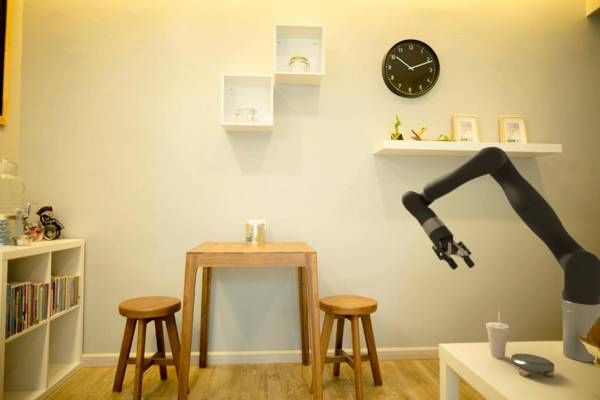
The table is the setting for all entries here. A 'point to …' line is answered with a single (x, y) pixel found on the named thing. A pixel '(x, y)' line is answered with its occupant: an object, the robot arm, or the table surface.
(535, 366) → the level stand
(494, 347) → the smoothie
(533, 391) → the table surface
